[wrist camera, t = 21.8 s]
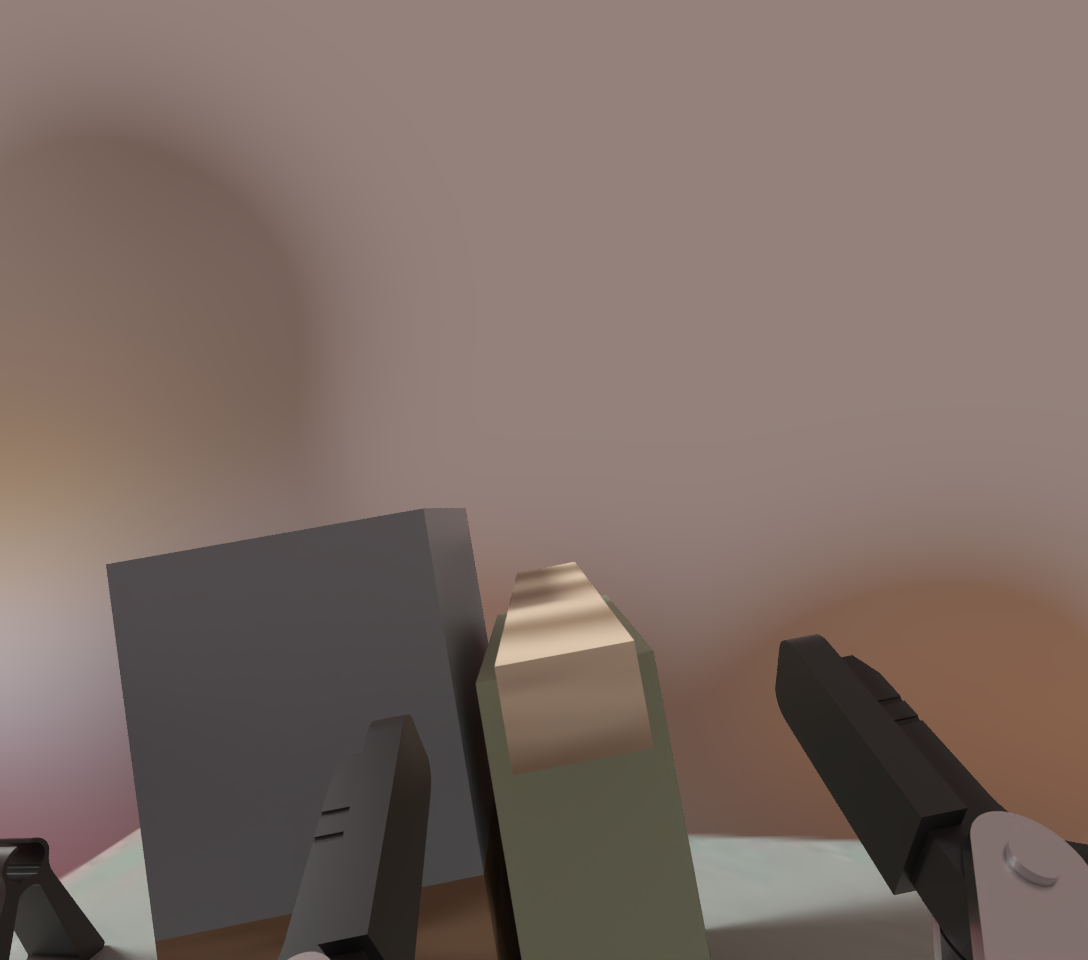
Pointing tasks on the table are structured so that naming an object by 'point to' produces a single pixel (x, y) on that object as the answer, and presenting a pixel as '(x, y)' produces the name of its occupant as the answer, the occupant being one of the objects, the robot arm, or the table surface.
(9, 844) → the phone stand
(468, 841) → the block
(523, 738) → the birch slat
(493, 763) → the olive box
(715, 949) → the table surface
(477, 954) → the walnut crate
